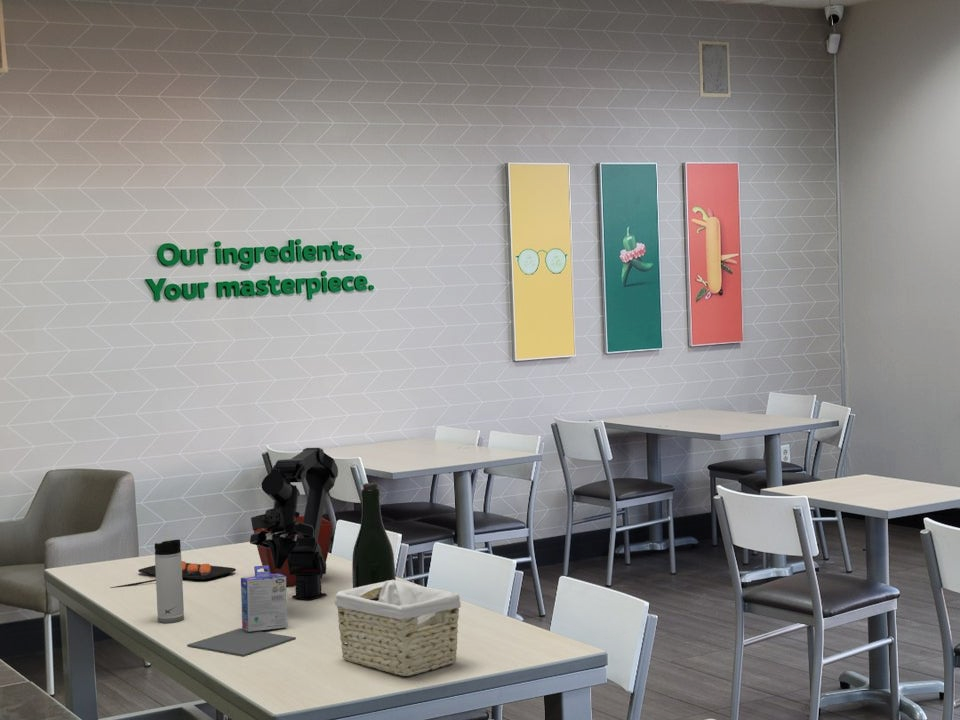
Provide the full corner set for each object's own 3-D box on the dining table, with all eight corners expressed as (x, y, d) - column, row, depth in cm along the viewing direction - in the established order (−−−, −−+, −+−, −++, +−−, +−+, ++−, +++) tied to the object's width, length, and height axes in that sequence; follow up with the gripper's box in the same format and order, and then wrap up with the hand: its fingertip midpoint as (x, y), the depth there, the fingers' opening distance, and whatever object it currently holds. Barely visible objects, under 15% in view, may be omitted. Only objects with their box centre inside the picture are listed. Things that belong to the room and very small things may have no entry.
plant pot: (320, 571, 344) (317, 513, 344) (335, 584, 326) (333, 523, 326) (254, 578, 338) (251, 520, 337) (266, 591, 320) (263, 529, 319)
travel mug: (171, 624, 287) (167, 542, 286) (152, 621, 290) (148, 540, 290) (190, 618, 292) (186, 537, 292) (171, 616, 296) (167, 536, 295)
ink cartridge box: (280, 623, 283) (279, 563, 283) (288, 628, 278) (287, 566, 279) (240, 628, 278) (239, 566, 278) (247, 632, 273) (247, 570, 274)
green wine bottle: (378, 613, 290) (373, 479, 289) (406, 620, 282) (401, 482, 281) (344, 622, 282) (339, 484, 281) (372, 629, 275) (366, 487, 274)
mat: (240, 629, 279) (239, 628, 279) (295, 639, 268) (295, 637, 268) (187, 646, 266) (187, 644, 266) (243, 656, 255) (243, 654, 255)
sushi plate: (240, 574, 347) (240, 561, 346) (162, 596, 321) (161, 582, 321) (171, 567, 362) (170, 555, 362) (91, 587, 337) (90, 574, 337)
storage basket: (334, 660, 250) (331, 590, 250) (394, 644, 261) (392, 577, 261) (404, 682, 233) (401, 607, 232) (466, 664, 243) (463, 592, 243)
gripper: (236, 506, 296) (227, 567, 290) (282, 492, 284) (274, 555, 278) (272, 517, 304) (264, 577, 297) (318, 504, 292) (311, 566, 285)
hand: (277, 569), depth 289 cm, fingers closed
